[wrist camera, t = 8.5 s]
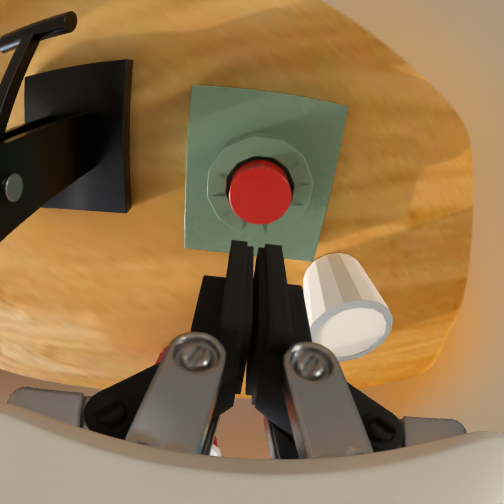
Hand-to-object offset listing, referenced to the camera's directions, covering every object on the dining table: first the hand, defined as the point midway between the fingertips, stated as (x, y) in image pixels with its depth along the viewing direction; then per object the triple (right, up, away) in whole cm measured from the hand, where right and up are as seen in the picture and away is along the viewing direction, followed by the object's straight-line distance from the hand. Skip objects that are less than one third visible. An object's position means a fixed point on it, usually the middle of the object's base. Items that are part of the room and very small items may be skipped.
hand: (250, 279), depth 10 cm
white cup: (+7, -1, +17) cm, 18 cm away
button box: (+1, +7, +11) cm, 13 cm away
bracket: (-14, +10, +9) cm, 20 cm away
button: (+1, +5, +8) cm, 10 cm away
